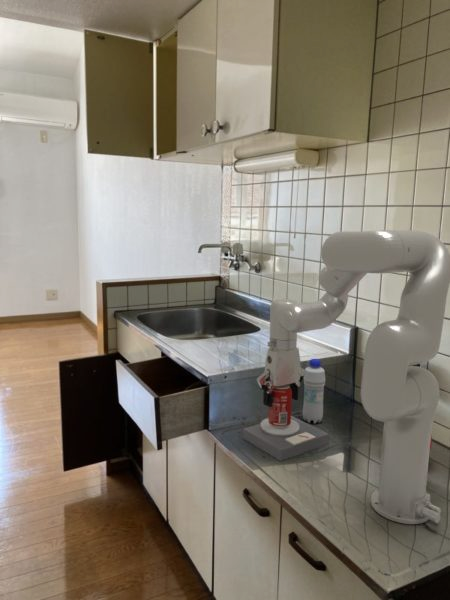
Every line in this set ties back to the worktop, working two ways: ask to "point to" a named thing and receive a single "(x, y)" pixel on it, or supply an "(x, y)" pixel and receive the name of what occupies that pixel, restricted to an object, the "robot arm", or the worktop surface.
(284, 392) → the beverage can
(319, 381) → the bottle
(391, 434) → the robot arm
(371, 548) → the worktop surface
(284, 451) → the scale
